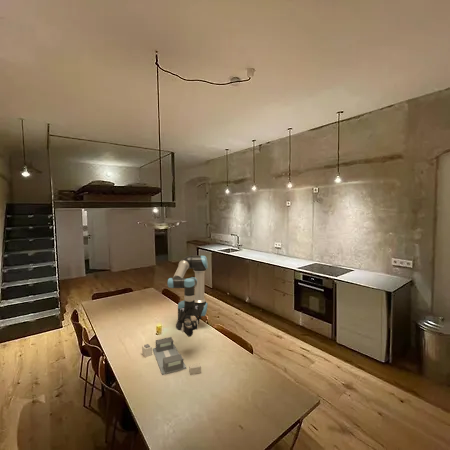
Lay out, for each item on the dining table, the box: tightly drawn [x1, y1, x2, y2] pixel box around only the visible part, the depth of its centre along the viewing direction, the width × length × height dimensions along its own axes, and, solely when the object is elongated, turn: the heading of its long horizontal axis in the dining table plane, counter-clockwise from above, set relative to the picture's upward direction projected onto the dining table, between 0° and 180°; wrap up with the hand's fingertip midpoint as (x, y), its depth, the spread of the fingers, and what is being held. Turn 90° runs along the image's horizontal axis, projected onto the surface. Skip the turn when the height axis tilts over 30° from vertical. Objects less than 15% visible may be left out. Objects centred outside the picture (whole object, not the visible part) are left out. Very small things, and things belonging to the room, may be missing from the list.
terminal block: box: [188, 363, 202, 376], centre depth 172 cm, size 7×4×4 cm, turn 107°
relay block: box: [141, 343, 153, 358], centre depth 193 cm, size 5×6×7 cm
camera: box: [182, 318, 198, 338], centre depth 193 cm, size 16×10×10 cm, turn 32°
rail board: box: [152, 336, 187, 376], centre depth 187 cm, size 16×34×7 cm, turn 25°
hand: (189, 329), depth 193 cm, fingers closed on camera, 10 cm apart
